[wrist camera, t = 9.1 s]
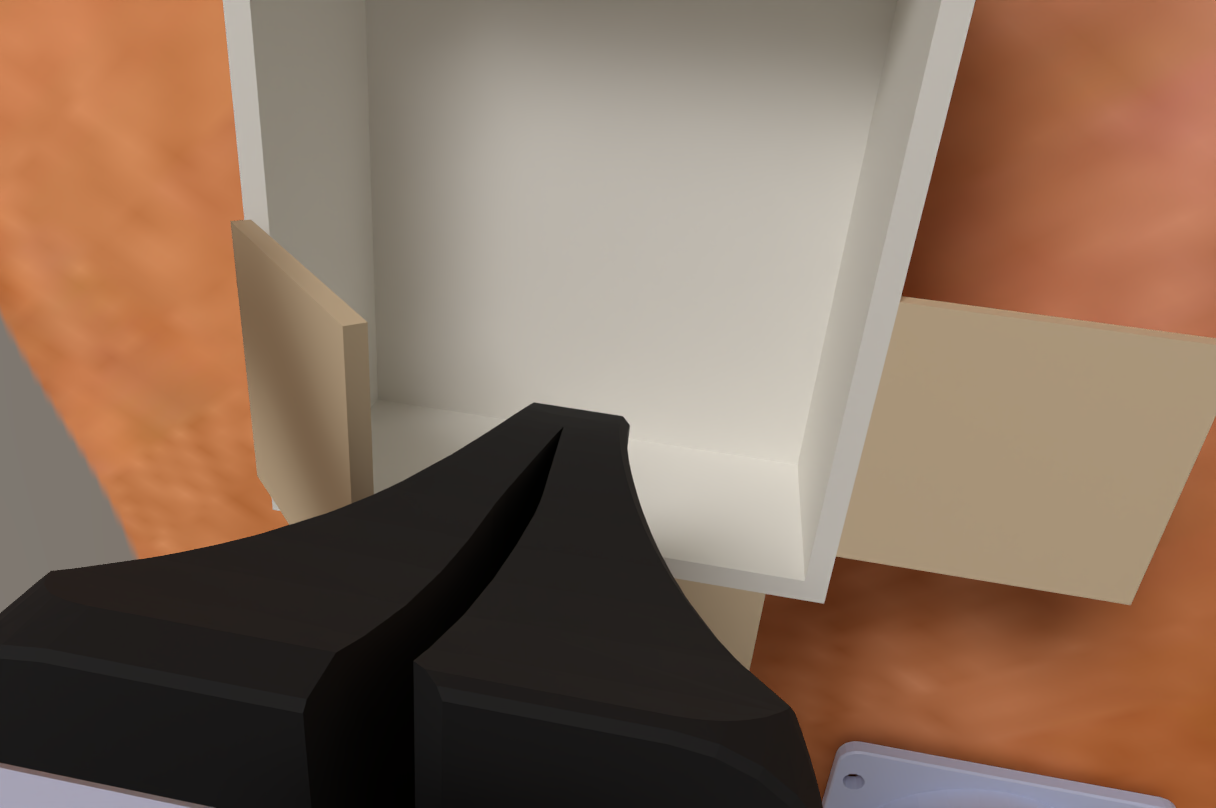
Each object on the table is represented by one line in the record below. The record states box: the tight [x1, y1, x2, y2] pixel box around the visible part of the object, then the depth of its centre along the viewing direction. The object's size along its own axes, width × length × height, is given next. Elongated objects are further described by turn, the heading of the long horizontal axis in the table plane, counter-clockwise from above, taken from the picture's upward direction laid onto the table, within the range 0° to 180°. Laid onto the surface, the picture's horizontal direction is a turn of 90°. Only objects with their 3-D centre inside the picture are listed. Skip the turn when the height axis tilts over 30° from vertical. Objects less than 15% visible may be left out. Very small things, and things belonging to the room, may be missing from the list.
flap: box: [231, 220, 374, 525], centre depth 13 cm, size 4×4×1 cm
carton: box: [223, 0, 1216, 670], centre depth 16 cm, size 16×15×4 cm
